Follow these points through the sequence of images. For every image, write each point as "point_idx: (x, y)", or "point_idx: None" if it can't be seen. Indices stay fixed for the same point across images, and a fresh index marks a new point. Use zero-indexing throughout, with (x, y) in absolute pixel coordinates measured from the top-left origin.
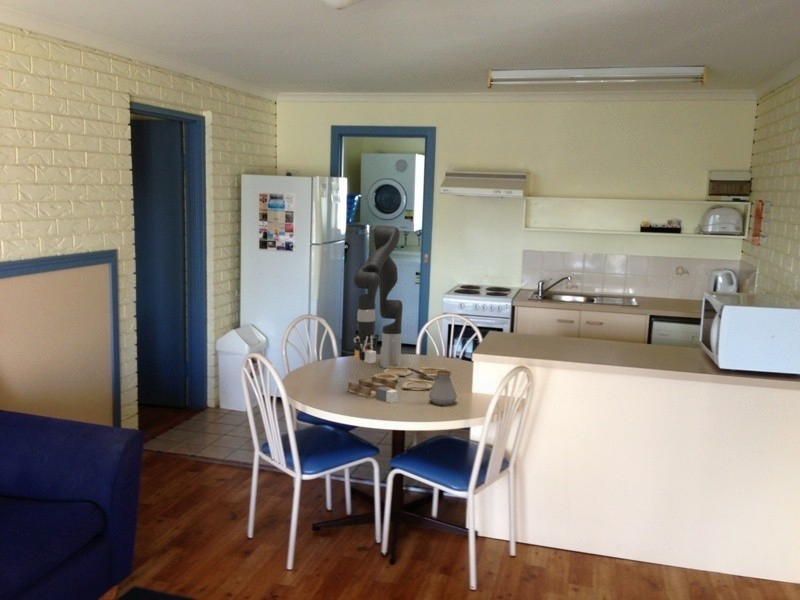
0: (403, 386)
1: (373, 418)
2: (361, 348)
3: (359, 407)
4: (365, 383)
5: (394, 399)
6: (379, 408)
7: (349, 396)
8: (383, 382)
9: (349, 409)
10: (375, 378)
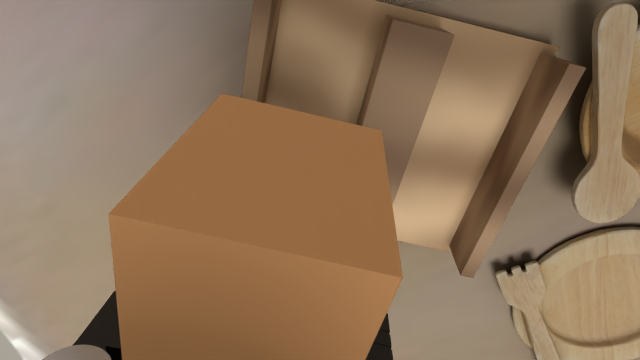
0: (519, 273)
1: (24, 328)
2: (236, 349)
3: (76, 222)
4: (367, 101)
5: None
6: None
7: (185, 65)
8: (496, 177)
9: (12, 198)
10: (544, 100)
